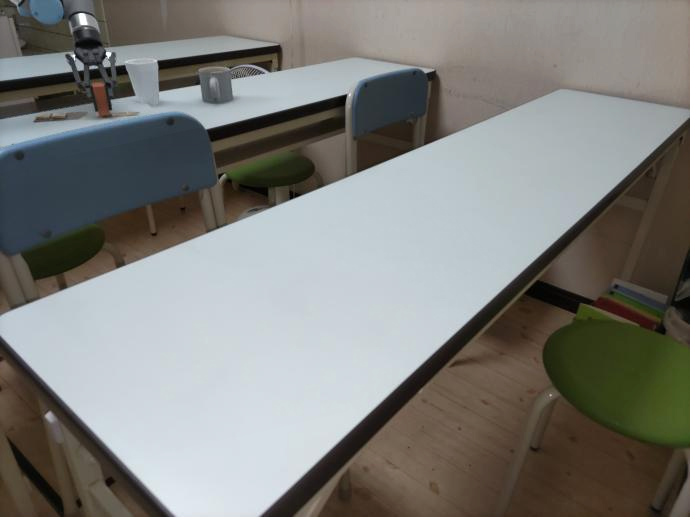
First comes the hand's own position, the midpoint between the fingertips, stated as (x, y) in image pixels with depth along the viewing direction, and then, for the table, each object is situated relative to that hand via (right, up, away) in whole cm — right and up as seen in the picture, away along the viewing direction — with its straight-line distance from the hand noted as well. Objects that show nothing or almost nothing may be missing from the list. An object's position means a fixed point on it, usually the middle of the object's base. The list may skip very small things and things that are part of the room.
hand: (103, 108), depth 142 cm
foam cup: (+5, +7, +21) cm, 23 cm away
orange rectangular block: (-2, 0, +4) cm, 5 cm away
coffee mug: (+25, +9, +26) cm, 37 cm away
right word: (+1, -1, +6) cm, 6 cm away
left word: (-13, -2, +4) cm, 14 cm away
